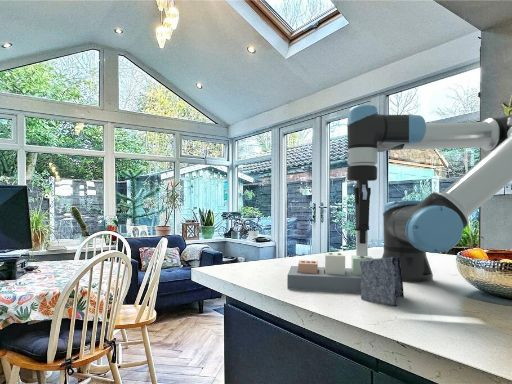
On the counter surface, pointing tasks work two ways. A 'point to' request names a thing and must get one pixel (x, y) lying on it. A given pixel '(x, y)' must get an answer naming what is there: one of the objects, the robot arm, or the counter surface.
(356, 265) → the tile one
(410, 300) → the counter surface
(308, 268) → the tile three
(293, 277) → the key board
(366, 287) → the stone
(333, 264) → the tile two
